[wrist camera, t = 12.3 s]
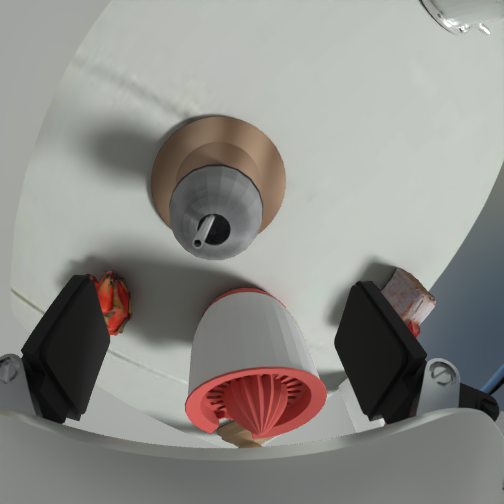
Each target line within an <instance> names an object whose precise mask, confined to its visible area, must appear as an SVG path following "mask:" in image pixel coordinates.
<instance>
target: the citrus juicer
mask: <svg viewBox="0 0 504 504" xmlns="http://www.w3.org/2000/svg"><path fill="white" fill-rule="evenodd" d="M326 397H327V391H326V387H325V385H324V383H323V382H322V381H321V380H320V378H319V375H318V372H317V370H316V367H315V364H314V362H313V359H312V356H311V353H310V351H309V348H308V345H307V343H306V340H305V338H304V336H303V334H302V331H301V329H300V327H299V325H298V323H297V322H296V320H295V319H294V317H293V316H292V315H291V314H290V312H289V311H288V310H287V309H286V307H285V306H284V305H283V304H282V303H281V302H280V301H279V300H277V299H276V298H275V297H273V296H272V295H270V294H269V293H267V292H264V291H262V290H259V289H255V288H238V289H234V290H230V291H228V292H226V293H223V294H222V295H220V296H219V297H217V298H216V299H215V300H214V301H213V302H212V303H211V304H210V305H209V307H208V308H207V309H206V311H205V312H204V314H203V316H202V319H201V321H200V322H199V324H198V327H197V330H196V333H195V336H194V339H193V344H192V350H191V361H190V375H189V390H188V397H187V400H186V403H185V412H186V414H187V416H188V418H189V420H190V421H191V422H192V423H193V424H194V425H195V426H197V427H198V428H200V429H201V430H203V431H205V432H208V433H210V434H211V433H212V432H213V431H214V430H216V429H217V428H218V427H219V420H220V419H223V418H227V419H230V420H234V421H236V422H237V423H238V424H239V425H241V426H242V427H243V428H245V429H246V430H248V431H250V432H251V434H252V439H259V438H267V437H272V436H277V435H280V434H283V433H286V432H289V431H291V430H293V429H296V428H298V427H300V426H302V425H303V424H305V423H307V422H308V421H309V420H311V419H312V418H313V417H315V416H316V415H317V414H318V412H319V411H320V410H321V409H322V407H323V406H324V404H325V401H326Z"/></svg>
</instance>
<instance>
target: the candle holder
mask: <svg viewBox="0 0 504 504" xmlns="http://www.w3.org/2000/svg"><path fill="white" fill-rule="evenodd" d="M217 435H219V436H221V437H222V439H223V440H224V441H226V442H229V443H232V444H234V445H236V446H237V447H239V448H257V447H262V446H261V444H262V443H264V442H265V441H267V440H269V439H271V438H273V437H274V436H272V437H267V438H259V439H252V434H251V432H250V431H248V430H246V429H245V428H243V427H242V426H241V425H239V424H238V423H237V422H236V421H232V422H230V423H228V424H226V425H223V426H221V427H219V428H217Z"/></svg>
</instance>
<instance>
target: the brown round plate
mask: <svg viewBox="0 0 504 504" xmlns="http://www.w3.org/2000/svg"><path fill="white" fill-rule="evenodd" d="M208 164H225V165H228V166H231V167H234V168H237V169H239V170H240V171H242V172H243V173H245V174H246V175H247V176H249V177H250V178H251V179H252V181H253V182H254V183H255V185H256V186H257V188H258V189H259V191H260V194H261V198H262V201H263V219H262V223H261V226H260V228H259V231H258V233H257V235H258V234H259V233H260V232H262V231H263V230H264V229H265V228H266V227H267V226H268V225H269V224H270V223H271V221H272V220H273V219H274V217H275V216H276V214H277V213H278V211H279V209H280V206H281V204H282V201H283V198H284V194H285V188H286V175H285V168H284V164H283V161H282V158H281V156H280V154H279V152H278V150H277V148H276V146H275V145H274V144H273V142H272V141H271V140H270V139H269V138H268V137H267V136H266V135H265V134H264V133H263V132H262V131H260V130H259V129H258V128H256V127H255V126H253V125H251V124H249V123H247V122H245V121H242V120H239V119H235V118H230V117H209V118H203V119H200V120H197V121H194V122H192V123H190V124H187V125H185V126H184V127H182V128H181V129H179V130H178V131H177V132H175V133H174V134H173V135H172V136H171V137H170V138H169V139H168V140H167V141H166V142H165V144H164V145H163V147H162V148H161V150H160V151H159V153H158V155H157V158H156V160H155V163H154V166H153V171H152V178H151V188H152V195H153V200H154V203H155V206H156V208H157V210H158V212H159V214H160V216H161V217H162V219H163V220H164V222H165V223H166V224H167V225H168V226H169V227H170V228H171V226H170V216H169V203H170V199H171V196H172V192H173V190H174V188H175V187H176V185H177V184H178V182H179V181H180V179H181V178H183V177H184V176H185V175H187V174H188V173H189V172H190V171H192V170H193V169H196V168H199V167H202V166H205V165H208ZM171 229H172V228H171Z"/></svg>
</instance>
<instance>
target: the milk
mask: <svg viewBox="0 0 504 504" xmlns="http://www.w3.org/2000/svg"><path fill="white" fill-rule="evenodd" d="M338 388H339V391H340V393H341V395H342V398H343V401H344V403H345V406H346V408H347V410H348V413H349V416H350V418H351V421H352V423H353V426H354V428H355V431H356V433H358V432H362V431H366V430H370V429H374V428H378V427H382V426H384V424H385V421H384V419H383V418H382V419H378V420H375V421H371V422H370V421H369V419H368V417H367V415H364V414H363V412H362V410H361V408H360V405H359V403H358V400H357V398H356V396H355V393H354V391H353V388H352V386H351V384H350V381H349V379H348V377H347V378H346V379H345V380H344V381H343V382H342V383H341V384H340V385H339V386H338Z"/></svg>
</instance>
